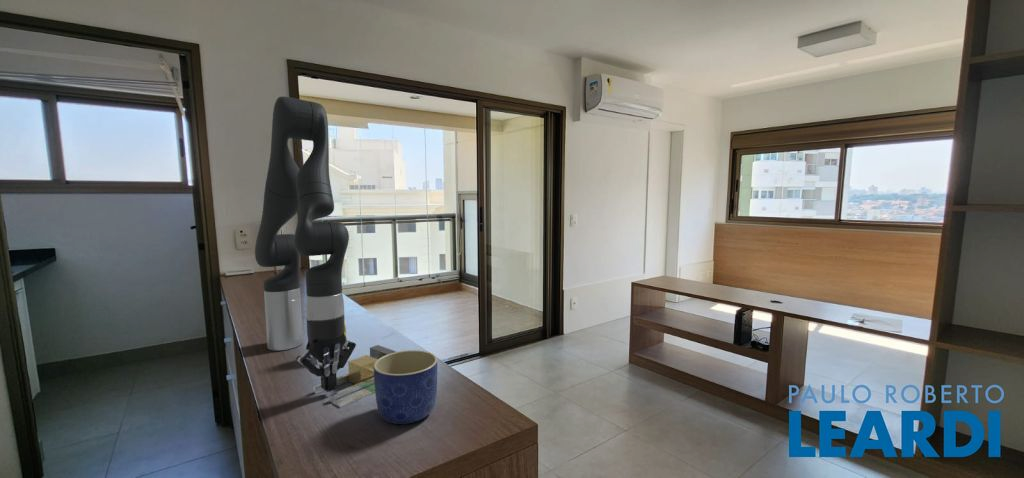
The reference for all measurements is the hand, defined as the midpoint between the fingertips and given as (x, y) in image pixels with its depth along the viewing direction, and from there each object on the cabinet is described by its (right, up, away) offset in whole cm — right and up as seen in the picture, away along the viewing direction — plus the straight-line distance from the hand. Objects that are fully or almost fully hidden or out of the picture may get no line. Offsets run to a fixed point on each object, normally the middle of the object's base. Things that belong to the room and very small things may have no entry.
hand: (329, 389), depth 88 cm
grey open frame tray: (+5, -1, +5) cm, 7 cm away
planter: (+19, -2, -7) cm, 21 cm away
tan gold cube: (+7, 0, +6) cm, 9 cm away
